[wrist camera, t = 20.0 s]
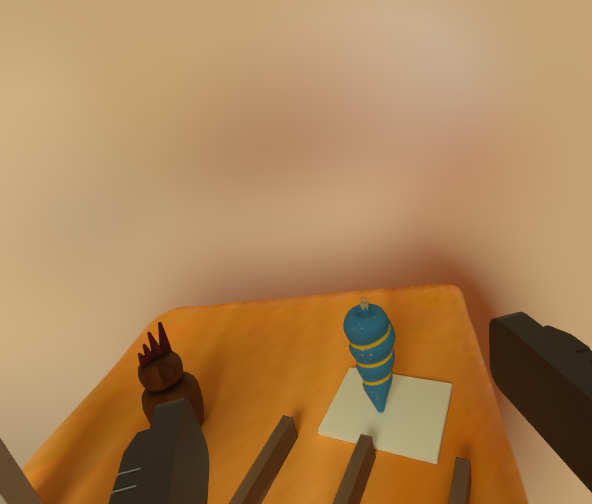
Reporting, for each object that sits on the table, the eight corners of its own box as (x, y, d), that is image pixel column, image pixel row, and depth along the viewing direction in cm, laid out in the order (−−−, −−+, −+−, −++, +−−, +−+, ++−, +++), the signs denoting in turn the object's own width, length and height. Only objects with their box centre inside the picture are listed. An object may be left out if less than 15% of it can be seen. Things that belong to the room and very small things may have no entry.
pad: (318, 434, 47) (317, 430, 47) (350, 370, 55) (349, 367, 55) (437, 464, 41) (436, 460, 40) (452, 387, 49) (452, 383, 49)
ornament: (381, 435, 44) (364, 317, 39) (348, 411, 48) (328, 301, 43) (411, 409, 47) (400, 294, 41) (377, 388, 51) (363, 281, 45)
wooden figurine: (206, 403, 55) (172, 308, 49) (214, 432, 50) (176, 331, 44) (156, 424, 53) (114, 329, 48) (159, 457, 48) (112, 355, 43)
